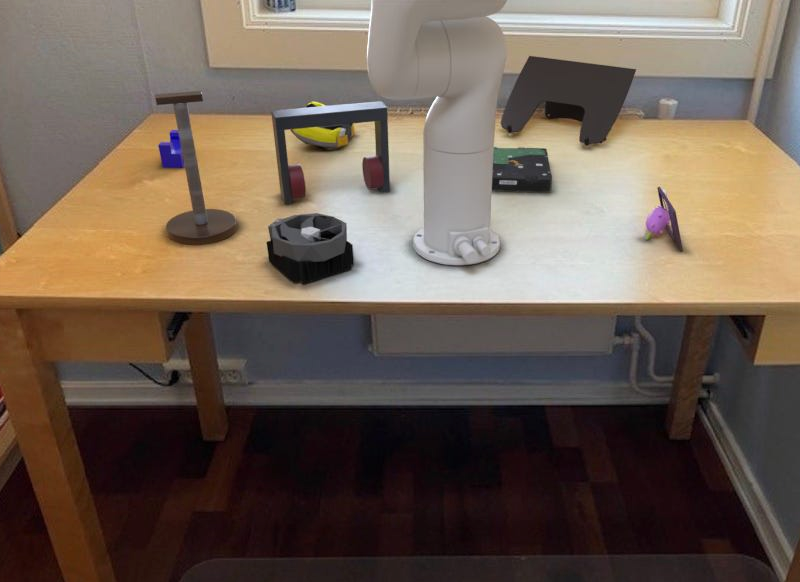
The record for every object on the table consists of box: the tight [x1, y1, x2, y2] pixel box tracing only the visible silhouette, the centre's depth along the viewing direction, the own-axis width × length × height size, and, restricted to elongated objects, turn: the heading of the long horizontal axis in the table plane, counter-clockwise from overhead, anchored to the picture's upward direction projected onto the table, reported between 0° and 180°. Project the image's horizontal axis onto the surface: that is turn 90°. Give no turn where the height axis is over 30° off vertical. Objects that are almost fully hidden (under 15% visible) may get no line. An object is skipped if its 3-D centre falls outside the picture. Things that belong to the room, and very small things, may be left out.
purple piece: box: [644, 186, 684, 252], centre depth 116 cm, size 7×5×9 cm
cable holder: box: [157, 129, 185, 169], centre depth 139 cm, size 8×4×4 cm, turn 1°
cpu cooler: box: [266, 212, 355, 285], centre depth 106 cm, size 10×6×10 cm
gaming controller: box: [289, 101, 355, 151], centre depth 148 cm, size 15×6×10 cm
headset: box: [270, 100, 391, 206], centre depth 125 cm, size 5×17×14 cm, turn 111°
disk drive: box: [492, 146, 553, 193], centre depth 136 cm, size 10×3×15 cm
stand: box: [154, 90, 238, 246], centre depth 111 cm, size 10×10×20 cm
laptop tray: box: [500, 55, 637, 150], centre depth 158 cm, size 23×23×9 cm
